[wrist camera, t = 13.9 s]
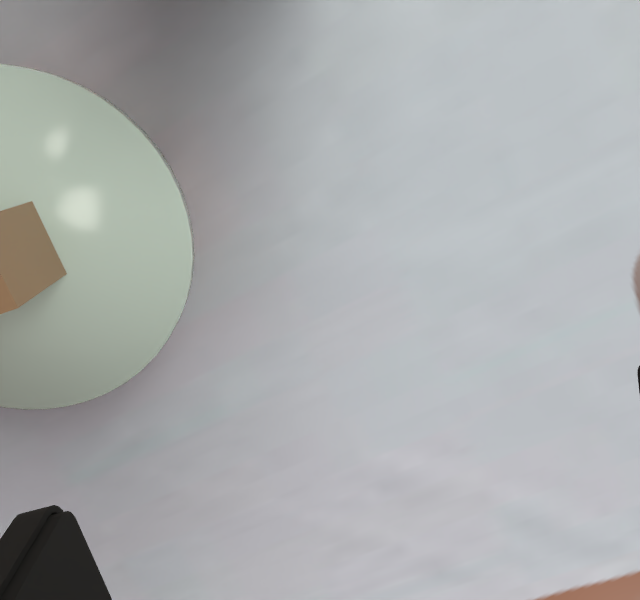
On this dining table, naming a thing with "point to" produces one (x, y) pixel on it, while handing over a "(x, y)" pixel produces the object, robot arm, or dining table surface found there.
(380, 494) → the dining table surface
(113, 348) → the lid
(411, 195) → the dining table surface
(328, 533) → the dining table surface
